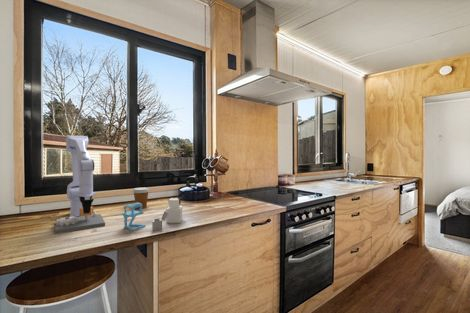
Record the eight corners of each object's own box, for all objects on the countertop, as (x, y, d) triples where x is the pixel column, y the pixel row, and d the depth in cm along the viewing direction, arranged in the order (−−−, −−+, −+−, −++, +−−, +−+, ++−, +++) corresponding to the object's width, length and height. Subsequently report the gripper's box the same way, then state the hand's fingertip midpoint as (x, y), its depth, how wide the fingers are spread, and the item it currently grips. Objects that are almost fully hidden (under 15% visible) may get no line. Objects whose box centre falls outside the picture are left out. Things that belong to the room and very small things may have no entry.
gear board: (56, 222, 117) (56, 214, 116) (100, 216, 128) (100, 208, 128) (55, 233, 102) (55, 223, 102) (105, 225, 113) (105, 216, 113)
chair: (133, 224, 117) (133, 200, 116) (145, 226, 113) (145, 201, 113) (119, 228, 110) (119, 203, 109) (132, 231, 106) (132, 205, 106)
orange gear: (79, 214, 117) (79, 207, 117) (92, 212, 120) (92, 205, 120) (79, 216, 112) (79, 209, 112) (93, 215, 116) (93, 208, 116)
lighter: (153, 230, 107) (153, 213, 107) (152, 229, 109) (152, 212, 108) (168, 228, 111) (168, 211, 111) (167, 227, 113) (167, 210, 112)
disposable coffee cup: (140, 210, 142) (140, 190, 142) (129, 208, 147) (129, 189, 146) (152, 206, 151) (152, 188, 151) (141, 204, 155) (141, 186, 155)
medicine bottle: (168, 218, 125) (168, 196, 125) (182, 218, 126) (182, 196, 126) (166, 223, 118) (166, 199, 118) (180, 223, 119) (180, 199, 119)
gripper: (97, 185, 112) (97, 213, 113) (94, 182, 124) (94, 207, 124) (79, 186, 108) (79, 216, 109) (78, 183, 120) (78, 209, 120)
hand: (86, 211), depth 116 cm, fingers closed on orange gear, 6 cm apart
